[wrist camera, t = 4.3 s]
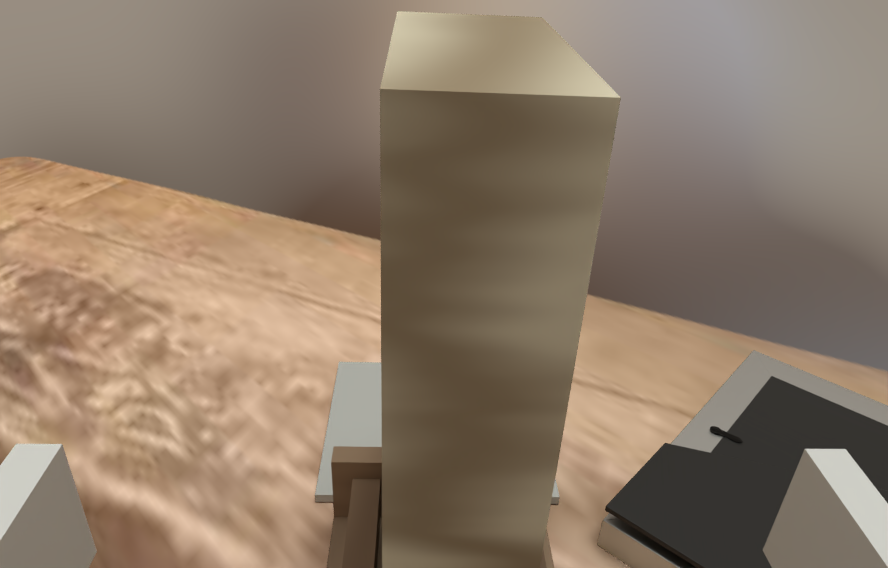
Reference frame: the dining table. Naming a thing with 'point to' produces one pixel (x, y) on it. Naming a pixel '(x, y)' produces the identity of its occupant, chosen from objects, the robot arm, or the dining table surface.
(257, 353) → the dining table surface
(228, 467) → the dining table surface
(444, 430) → the tall grained pillar
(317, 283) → the dining table surface
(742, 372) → the picture frame
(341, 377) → the rubber pad
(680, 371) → the dining table surface
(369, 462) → the tray
